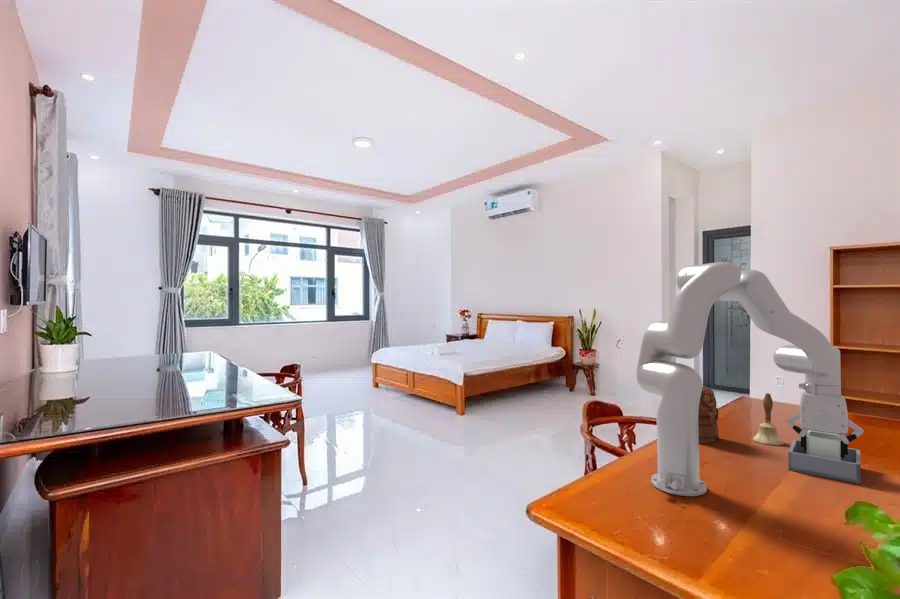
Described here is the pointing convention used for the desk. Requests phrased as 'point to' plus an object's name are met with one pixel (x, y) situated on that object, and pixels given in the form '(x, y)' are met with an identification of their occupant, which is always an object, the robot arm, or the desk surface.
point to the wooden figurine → (707, 416)
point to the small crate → (824, 445)
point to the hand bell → (768, 426)
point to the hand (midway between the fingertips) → (823, 453)
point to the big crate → (825, 464)
